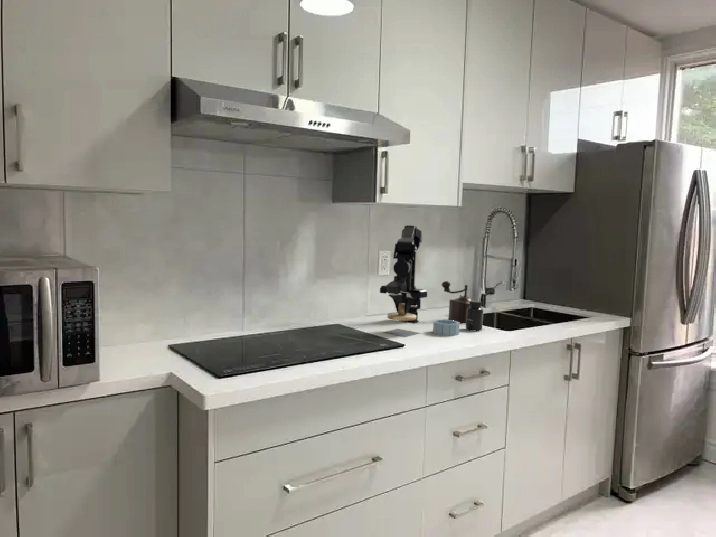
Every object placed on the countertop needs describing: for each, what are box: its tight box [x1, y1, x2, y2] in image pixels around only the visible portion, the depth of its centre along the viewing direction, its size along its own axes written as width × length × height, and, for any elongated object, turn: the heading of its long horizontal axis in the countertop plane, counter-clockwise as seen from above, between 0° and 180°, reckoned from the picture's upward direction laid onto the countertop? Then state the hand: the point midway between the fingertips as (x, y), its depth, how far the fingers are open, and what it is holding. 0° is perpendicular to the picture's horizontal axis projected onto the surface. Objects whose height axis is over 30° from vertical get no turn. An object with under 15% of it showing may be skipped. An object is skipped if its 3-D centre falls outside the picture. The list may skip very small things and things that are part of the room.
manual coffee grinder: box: [441, 280, 475, 324], centre depth 247 cm, size 16×11×18 cm
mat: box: [381, 328, 421, 338], centre depth 214 cm, size 11×11×1 cm
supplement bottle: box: [465, 300, 484, 332], centre depth 228 cm, size 7×7×12 cm
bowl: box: [432, 319, 460, 337], centre depth 216 cm, size 10×10×5 cm
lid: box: [387, 303, 416, 322], centre depth 213 cm, size 11×11×6 cm
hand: (402, 313), depth 213 cm, fingers closed on lid, 3 cm apart
